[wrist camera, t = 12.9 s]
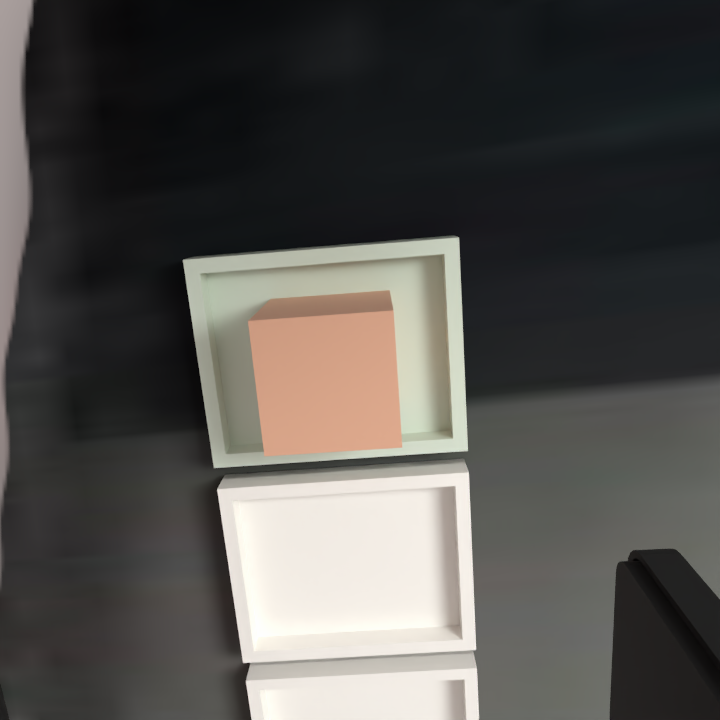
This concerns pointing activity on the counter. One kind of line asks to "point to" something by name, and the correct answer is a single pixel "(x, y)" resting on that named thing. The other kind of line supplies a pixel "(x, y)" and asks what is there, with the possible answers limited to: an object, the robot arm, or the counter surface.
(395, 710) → the tray
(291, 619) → the tray
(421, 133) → the counter surface
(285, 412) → the light orange cube
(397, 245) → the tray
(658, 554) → the robot arm
